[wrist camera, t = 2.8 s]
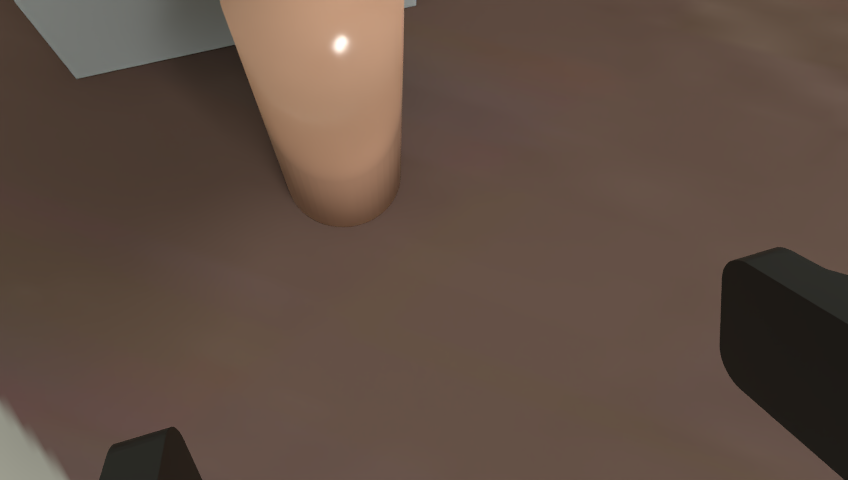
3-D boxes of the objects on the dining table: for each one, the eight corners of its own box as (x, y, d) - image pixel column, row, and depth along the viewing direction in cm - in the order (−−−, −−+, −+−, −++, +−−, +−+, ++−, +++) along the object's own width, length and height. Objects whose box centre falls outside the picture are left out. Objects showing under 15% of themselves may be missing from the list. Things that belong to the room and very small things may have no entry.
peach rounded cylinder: (383, 114, 30) (376, -100, 19) (414, 210, 29) (427, 38, 17) (276, 140, 29) (203, -67, 18) (301, 240, 28) (239, 80, 17)
